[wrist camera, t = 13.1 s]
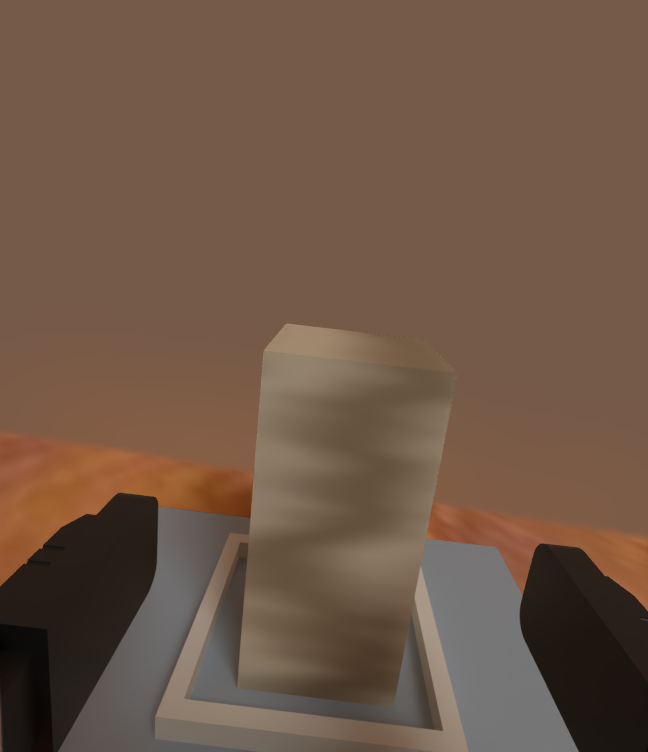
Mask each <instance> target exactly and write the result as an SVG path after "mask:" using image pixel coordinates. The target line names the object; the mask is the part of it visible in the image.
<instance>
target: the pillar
mask: <svg viewBox="0 0 648 752" xmlns="http://www.w3.org/2000/svg"><path fill="white" fill-rule="evenodd" d="M456 378H457V372H456V371H455V370H454V369H452V367H451V366H450V365H448V363H447V362H445V360H443V358H441V357H440V356H439V355H438V354H437V353H436V352H435V351H434V350H433V349H432V348H431V347H430V346H429V345H428V344H427V343H426V342H425V341H424V340H422V339H414V338H405V337H396V336H388V335H379V334H371V333H362V332H354V331H345V330H336V329H328V328H318V327H311V326H302V325H293V324H286V325H285V326H284V327H283V328H282V329H281V331H280V332H279V333H278V334H277V335H276V337H275V338H274V339H273V340H272V341H271V343H270V344H269V345H268V346H267V348H266V349H265V350H264V354H263V367H262V380H261V392H260V406H259V417H258V430H257V443H256V455H255V467H254V480H253V493H252V505H251V518H250V530H249V543H248V555H247V568H246V581H245V593H244V606H243V618H242V631H241V644H240V656H239V669H238V681H237V688H239V689H247V690H255V691H263V692H271V693H280V694H288V695H296V696H304V697H312V698H321V699H329V700H337V701H345V702H353V703H361V704H370V705H378V706H386V707H394V702H395V697H396V691H397V686H398V681H399V676H400V670H401V665H402V660H403V655H404V650H405V644H406V639H407V634H408V629H409V623H410V618H411V613H412V608H413V603H414V597H415V592H416V587H417V582H418V576H419V571H420V566H421V561H422V556H423V550H424V545H425V540H426V535H427V529H428V524H429V519H430V514H431V509H432V503H433V498H434V493H435V487H436V482H437V477H438V472H439V467H440V462H441V456H442V451H443V446H444V441H445V435H446V430H447V424H448V420H449V414H450V409H451V404H452V399H453V393H454V388H455V383H456Z"/></svg>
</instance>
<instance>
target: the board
mask: <svg viewBox="0 0 648 752" xmlns="http://www.w3.org/2000/svg"><path fill="white" fill-rule="evenodd" d="M249 530H250V518H249V517H240V516H232V515H224V514H215V513H207V512H199V511H190V510H182V509H174V508H165V507H158V545H157V567H156V572H155V576H154V580H153V583H152V586H151V589H150V591H149V593H148V595H147V597H146V598H145V600H144V602H143V604H142V605H141V607H140V609H139V611H138V612H137V614H136V616H135V618H134V619H133V621H132V623H131V625H130V626H129V628H128V630H127V632H126V633H125V635H124V637H123V639H122V640H121V642H120V644H119V646H118V647H117V649H116V651H115V653H114V654H113V656H112V658H111V660H110V661H109V663H108V665H107V667H106V668H105V670H104V672H103V674H102V675H101V677H100V679H99V681H98V683H97V684H96V686H95V688H94V690H93V691H92V693H91V695H90V697H89V698H88V700H87V702H86V704H85V705H84V707H83V709H82V711H81V712H80V714H79V716H78V718H77V719H76V721H75V723H74V725H73V726H72V728H71V730H70V732H69V733H68V735H67V737H66V739H65V740H64V742H63V744H62V746H61V747H60V749H59V751H58V752H579V751H578V749H577V747H576V745H575V743H574V741H573V739H572V737H571V735H570V733H569V731H568V729H567V727H566V725H565V723H564V721H563V718H562V716H561V714H560V712H559V710H558V708H557V706H556V704H555V702H554V700H553V698H552V696H551V694H550V692H549V690H548V688H547V686H546V683H545V681H544V679H543V677H542V675H541V673H540V671H539V669H538V667H537V665H536V663H535V661H534V659H533V657H532V655H531V653H530V651H529V648H528V646H527V644H526V642H525V640H524V638H523V635H522V631H521V626H520V605H521V600H522V597H523V596H522V594H521V592H520V590H519V588H518V586H517V584H516V583H515V581H514V579H513V577H512V575H511V573H510V571H509V569H508V568H507V566H506V564H505V562H504V560H503V558H502V556H501V555H500V553H499V551H498V549H497V547H490V546H482V545H473V544H465V543H457V542H448V541H440V540H432V539H426V540H425V545H424V550H423V556H422V561H421V566H420V571H419V576H418V582H417V587H416V592H415V597H414V603H413V608H412V613H411V618H410V623H409V629H408V634H407V639H406V644H405V650H404V655H403V660H402V665H401V670H400V676H399V681H398V686H397V691H396V697H395V702H394V707H386V706H378V705H370V704H361V703H353V702H345V701H337V700H329V699H321V698H312V697H304V696H296V695H288V694H280V693H271V692H263V691H255V690H247V689H239V688H237V681H238V669H239V656H240V644H241V631H242V618H243V606H244V593H245V581H246V568H247V555H248V543H249Z"/></svg>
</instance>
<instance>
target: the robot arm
mask: <svg viewBox="0 0 648 752" xmlns="http://www.w3.org/2000/svg"><path fill="white" fill-rule="evenodd" d="M157 545H158V501H157V499H156V497H151V496H143V495H134V494H126V493H118V494H116V495H115V496H114V497H113V498H112V499H111V500H110V501H109V502H108V503H107V505H106V506H105V507H104V508H103V509H102V510H101V511H100V512H99V513H98V514H97V515H90V514H86V515H84V516H82V517H80V518H78V519H76V520H75V521H73V522H71V523H69V524H67V525H65V526H63V527H61V528H60V529H59V530H58V531H57V532H56V533H55V534H54V535H53V536H52V537H51V538H50V539H49V540H48V541H47V542H46V543H45V544H44V545H43V548H42V549H39V550H38V551H37V552H36V553H34V554H33V555H32V556H31V557H30V558H29V559H28V562H27V564H23V565H22V566H21V567H20V568H19V569H18V570H17V571H16V572H15V573H14V574H13V575H12V576H11V577H10V578H9V579H8V580H7V581H6V582H5V583H3V584H2V585H1V586H0V752H58V751H59V749H60V747H61V746H62V744H63V742H64V740H65V739H66V737H67V735H68V733H69V732H70V730H71V728H72V726H73V725H74V723H75V721H76V719H77V718H78V716H79V714H80V712H81V711H82V709H83V707H84V705H85V704H86V702H87V700H88V698H89V697H90V695H91V693H92V691H93V690H94V688H95V686H96V684H97V683H98V681H99V679H100V677H101V675H102V674H103V672H104V670H105V668H106V667H107V665H108V663H109V661H110V660H111V658H112V656H113V654H114V653H115V651H116V649H117V647H118V646H119V644H120V642H121V640H122V639H123V637H124V635H125V633H126V632H127V630H128V628H129V626H130V625H131V623H132V621H133V619H134V618H135V616H136V614H137V612H138V611H139V609H140V607H141V605H142V604H143V602H144V600H145V598H146V597H147V595H148V593H149V591H150V589H151V586H152V583H153V580H154V576H155V572H156V567H157ZM520 626H521V631H522V635H523V638H524V640H525V642H526V644H527V646H528V648H529V651H530V653H531V655H532V657H533V659H534V661H535V663H536V665H537V667H538V669H539V671H540V673H541V675H542V677H543V679H544V681H545V683H546V686H547V688H548V690H549V692H550V694H551V696H552V698H553V700H554V702H555V704H556V706H557V708H558V710H559V712H560V714H561V716H562V718H563V721H564V723H565V725H566V727H567V729H568V731H569V733H570V735H571V737H572V739H573V741H574V743H575V745H576V747H577V749H578V751H579V752H648V611H647V610H646V609H645V608H644V607H643V605H642V604H641V603H640V602H639V601H638V600H637V599H636V597H635V596H633V595H632V594H631V593H629V592H628V591H627V590H625V589H624V588H623V587H621V586H620V585H619V584H617V583H616V582H615V581H613V580H612V579H611V578H609V577H607V576H604V575H603V573H602V572H601V571H600V570H599V569H598V567H597V566H596V565H595V564H594V563H593V562H592V560H591V559H590V558H589V557H588V556H587V554H586V553H585V552H584V551H583V550H582V549H580V548H577V547H568V546H560V545H551V544H539V545H538V546H537V548H536V549H535V552H534V555H533V559H532V562H531V566H530V570H529V574H528V578H527V581H526V585H525V589H524V593H523V597H522V600H521V605H520Z"/></svg>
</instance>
